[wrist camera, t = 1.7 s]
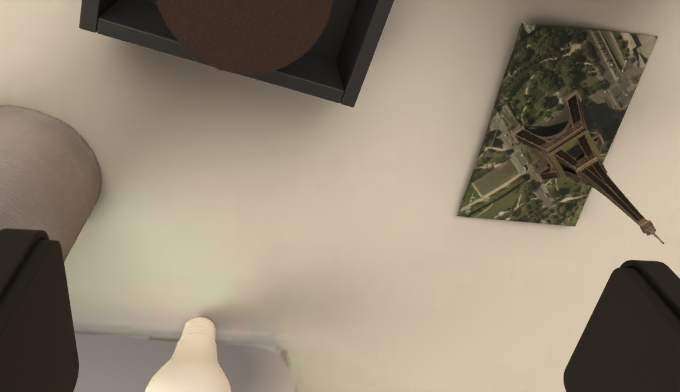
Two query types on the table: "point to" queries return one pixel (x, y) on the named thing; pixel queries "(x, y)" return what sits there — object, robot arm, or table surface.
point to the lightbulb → (192, 363)
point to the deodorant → (246, 31)
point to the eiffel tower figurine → (557, 126)
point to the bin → (301, 75)
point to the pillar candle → (45, 176)
